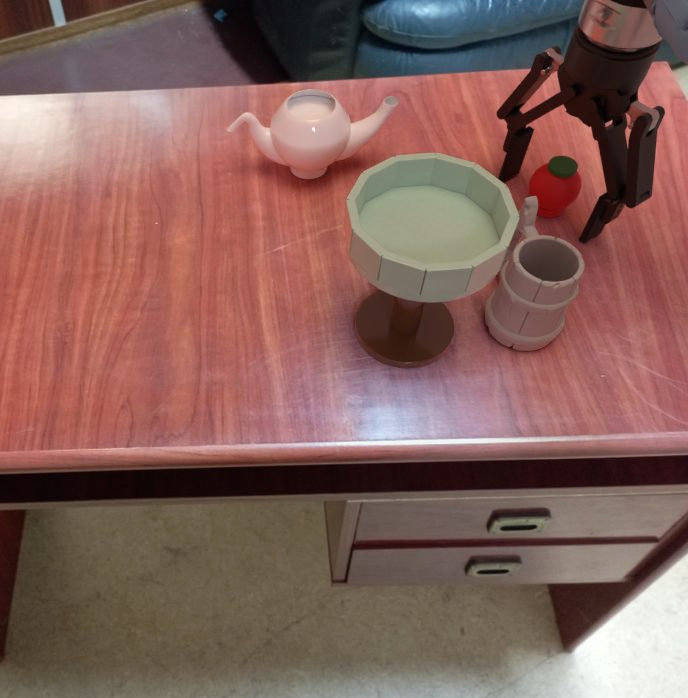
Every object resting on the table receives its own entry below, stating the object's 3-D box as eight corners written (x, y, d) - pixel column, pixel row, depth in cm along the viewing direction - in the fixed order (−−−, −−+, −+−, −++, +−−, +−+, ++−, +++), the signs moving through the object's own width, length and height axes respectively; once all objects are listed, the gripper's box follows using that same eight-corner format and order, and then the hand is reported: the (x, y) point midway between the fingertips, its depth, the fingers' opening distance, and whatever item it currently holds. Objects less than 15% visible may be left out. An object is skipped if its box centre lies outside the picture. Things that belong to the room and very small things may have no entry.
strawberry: (581, 210, 83) (600, 167, 78) (547, 230, 82) (565, 188, 77) (545, 184, 86) (562, 141, 81) (512, 203, 85) (527, 161, 80)
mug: (496, 359, 72) (530, 281, 63) (459, 271, 79) (485, 188, 69) (571, 348, 73) (616, 269, 63) (527, 262, 79) (562, 178, 70)
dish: (501, 341, 74) (553, 220, 60) (395, 409, 70) (424, 296, 56) (409, 258, 81) (437, 133, 67) (308, 316, 77) (315, 195, 63)
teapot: (229, 146, 94) (224, 83, 86) (384, 138, 93) (393, 74, 85) (229, 197, 88) (224, 135, 81) (394, 190, 87) (405, 126, 80)
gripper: (493, -10, 71) (451, 163, 89) (706, 112, 59) (608, 283, 77) (548, -35, 73) (496, 138, 91) (765, 78, 61) (656, 252, 79)
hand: (547, 205), depth 84 cm, fingers open, 12 cm apart
